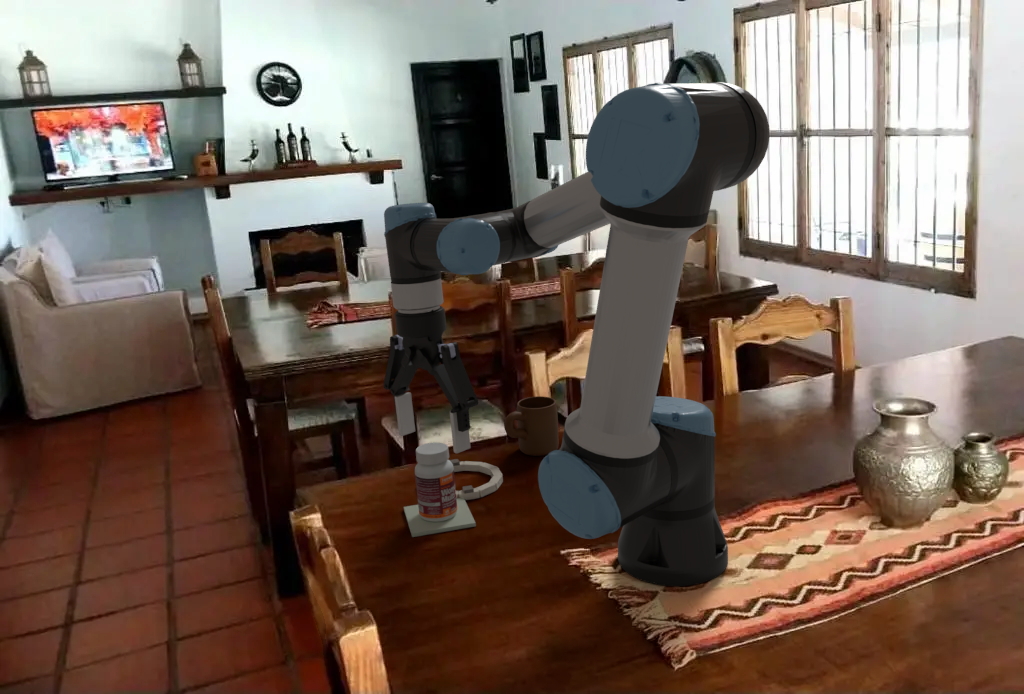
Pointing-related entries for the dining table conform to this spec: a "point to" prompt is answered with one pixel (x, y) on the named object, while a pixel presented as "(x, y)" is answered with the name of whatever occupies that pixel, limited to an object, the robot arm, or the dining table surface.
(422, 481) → the pill bottle
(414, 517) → the coaster
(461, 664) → the dining table surface
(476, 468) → the collar
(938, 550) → the dining table surface
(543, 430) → the mug
